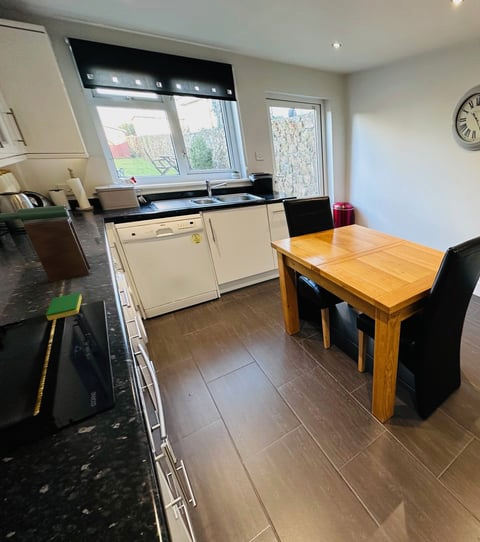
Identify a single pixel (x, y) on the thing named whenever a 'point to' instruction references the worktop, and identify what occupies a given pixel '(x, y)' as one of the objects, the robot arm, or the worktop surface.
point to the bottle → (36, 213)
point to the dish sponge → (64, 306)
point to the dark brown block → (58, 247)
